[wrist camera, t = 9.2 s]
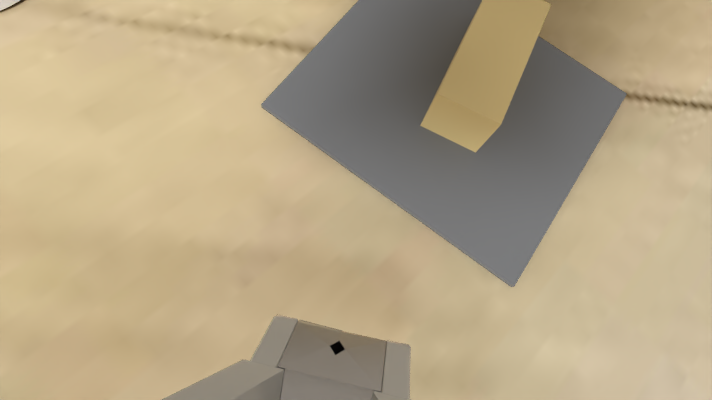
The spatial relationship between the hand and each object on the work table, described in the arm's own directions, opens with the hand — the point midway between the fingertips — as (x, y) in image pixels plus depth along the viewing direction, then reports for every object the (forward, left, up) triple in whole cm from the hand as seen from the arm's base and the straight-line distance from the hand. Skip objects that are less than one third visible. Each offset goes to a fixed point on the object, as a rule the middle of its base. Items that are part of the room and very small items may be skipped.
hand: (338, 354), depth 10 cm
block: (-1, +19, -19) cm, 27 cm away
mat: (-3, +22, -22) cm, 32 cm away
